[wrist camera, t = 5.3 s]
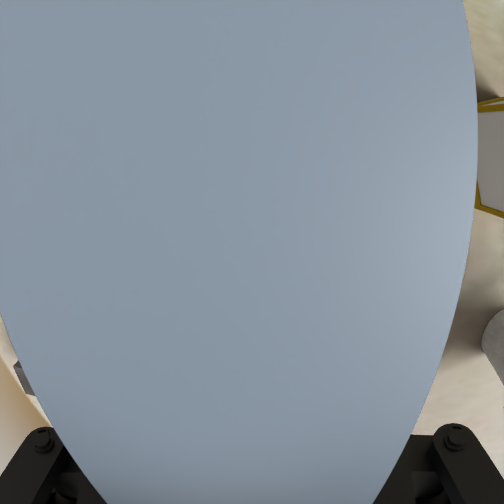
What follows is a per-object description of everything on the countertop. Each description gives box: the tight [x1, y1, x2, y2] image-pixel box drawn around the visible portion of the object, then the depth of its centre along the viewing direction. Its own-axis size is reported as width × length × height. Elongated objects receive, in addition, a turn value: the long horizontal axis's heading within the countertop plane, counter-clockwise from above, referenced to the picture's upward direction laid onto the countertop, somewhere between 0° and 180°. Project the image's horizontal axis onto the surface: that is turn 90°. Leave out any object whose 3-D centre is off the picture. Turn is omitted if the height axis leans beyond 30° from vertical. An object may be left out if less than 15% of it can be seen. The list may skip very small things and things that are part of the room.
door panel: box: [0, 0, 478, 504], centre depth 9 cm, size 20×4×10 cm, turn 1°
